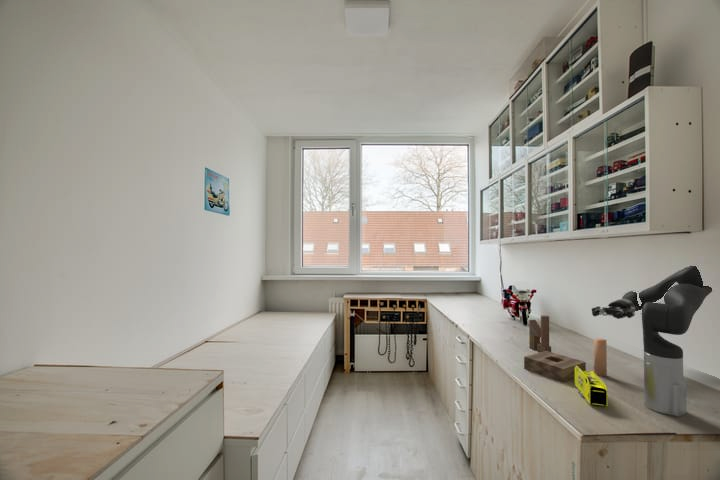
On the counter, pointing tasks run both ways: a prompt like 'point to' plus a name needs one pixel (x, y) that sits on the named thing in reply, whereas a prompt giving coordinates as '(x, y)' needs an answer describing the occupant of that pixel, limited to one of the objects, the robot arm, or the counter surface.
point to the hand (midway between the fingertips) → (605, 315)
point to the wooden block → (539, 334)
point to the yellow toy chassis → (591, 387)
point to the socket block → (553, 365)
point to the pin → (600, 357)
